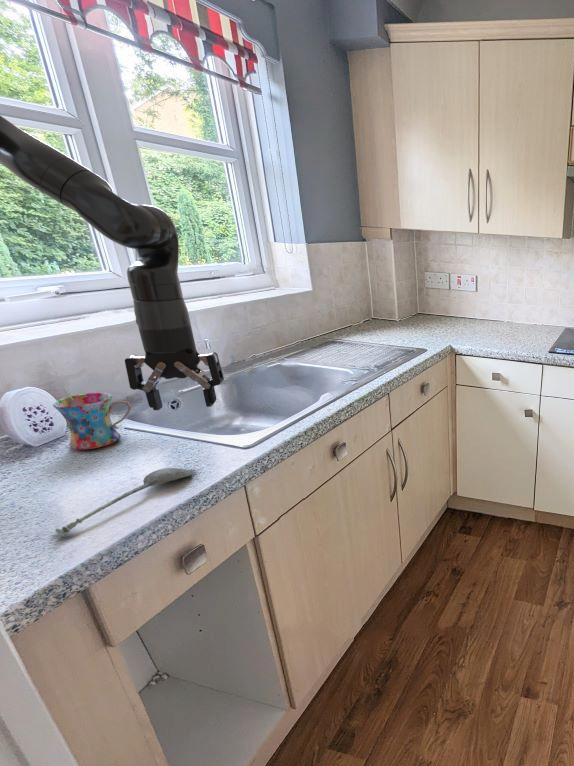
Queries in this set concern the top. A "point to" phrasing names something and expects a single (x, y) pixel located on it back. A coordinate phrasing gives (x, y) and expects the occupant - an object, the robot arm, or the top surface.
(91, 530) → the top surface
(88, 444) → the mug
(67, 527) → the soupspoon
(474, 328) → the top surface
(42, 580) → the top surface
